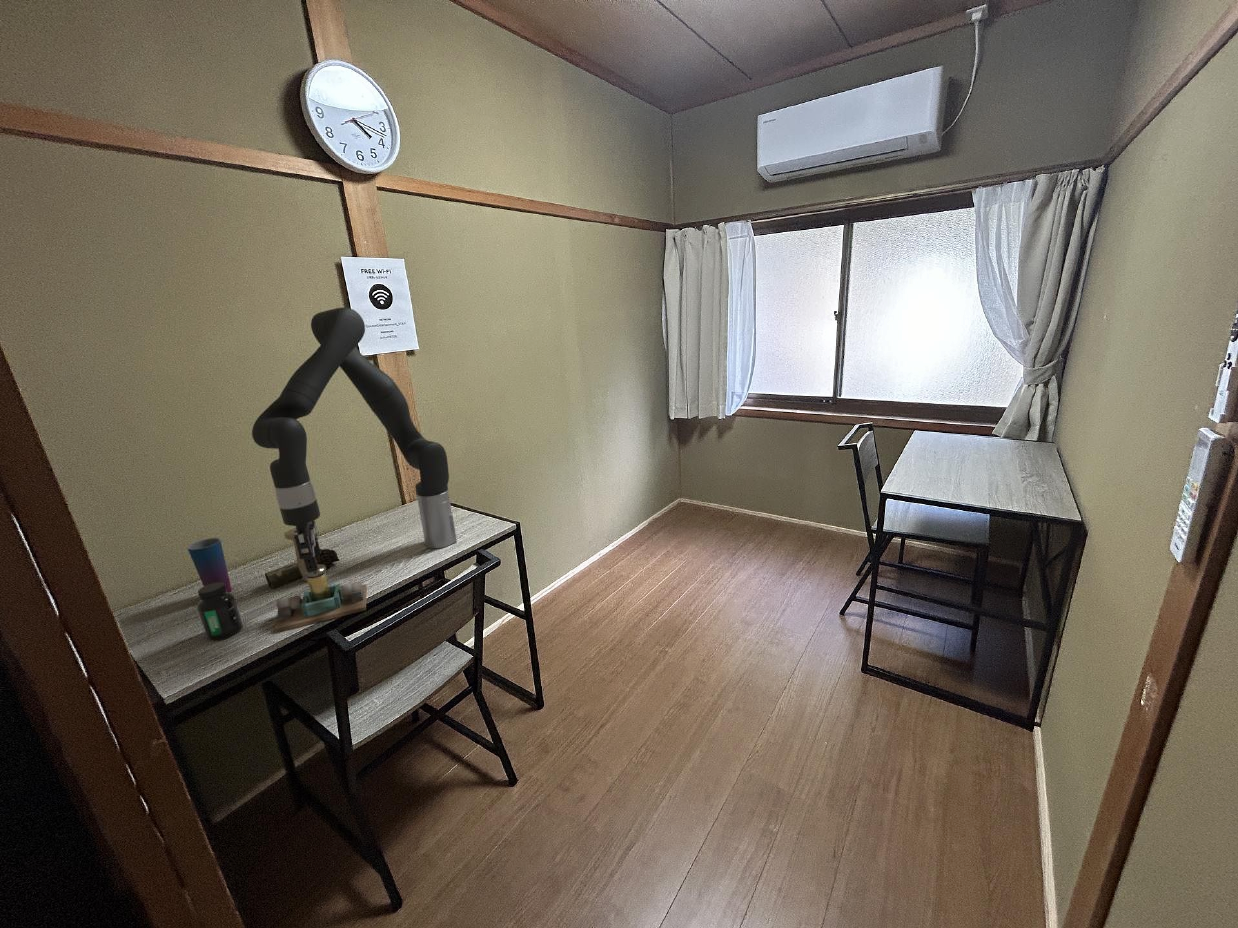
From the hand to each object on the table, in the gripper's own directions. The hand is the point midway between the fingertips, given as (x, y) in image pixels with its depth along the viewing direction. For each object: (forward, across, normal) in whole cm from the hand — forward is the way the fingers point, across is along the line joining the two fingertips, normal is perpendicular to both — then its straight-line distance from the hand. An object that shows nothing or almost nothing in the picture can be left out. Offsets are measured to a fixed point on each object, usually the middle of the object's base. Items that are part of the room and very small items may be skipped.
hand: (314, 562), depth 122 cm
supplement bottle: (+13, 0, +21) cm, 25 cm away
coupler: (+12, 0, 0) cm, 12 cm away
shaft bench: (+13, 0, 0) cm, 13 cm away
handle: (+13, +19, +5) cm, 24 cm away
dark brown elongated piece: (+13, +24, +7) cm, 28 cm away
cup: (+13, +22, +27) cm, 37 cm away
